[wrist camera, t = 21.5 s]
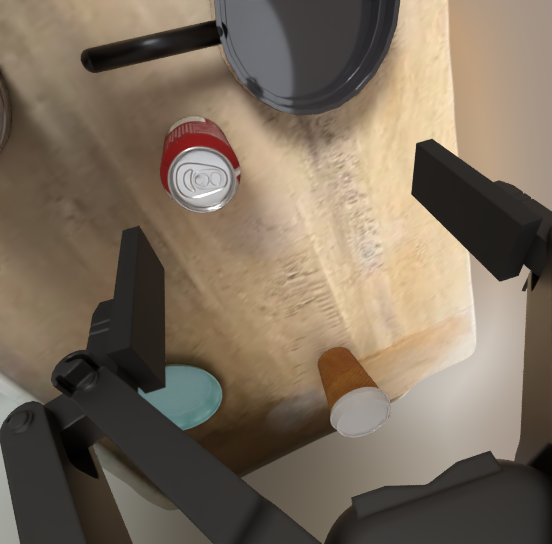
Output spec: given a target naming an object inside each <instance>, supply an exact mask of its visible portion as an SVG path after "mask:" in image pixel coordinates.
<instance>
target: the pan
mask: <svg viewBox="0 0 552 544" xmlns="http://www.w3.org/2000/svg"><path fill="white" fill-rule="evenodd" d="M210 2H211V12H212V21H213V20H215V21H216V26H220V27H221V28H222V30H223V27H222V22H223V23H224V24H225V25H226V27H227V30H228V36H227V39H226V37H225V34H224V31H223V35H222V37H220V41H221V44H220V45H218V46H219V50H220V53H221V55H222V58H223V59H224V61H225V63H226V64H227V66H228V68H229V70H230V71H231V73H232V75H233V76H234V78H235V79H236V80H237V81H238V82H239V83H240V84H241V85H242V86H243V87H244V88H245V89H246V90H247V91H248V92H249V93H250V94H251V95H252V96H254V97H255V98H257V99H259V100H260V101H262V102H264V103H266V104H267V105H269V106H271V107H272V108H274V109H276V110H278V111H282V112H286V113H290V114H294V115H312V114H321V113H324V112H326V111H329V110H332V109H335V108H338V107H340V106H341V105H343V104H344V103H346V102H347V101H349V100H350V99H351V98H353V97H354V96H356V95H357V94H358V93H359V92H360V91H361V90H362V89H363V88H364V87H365V86H366V85H367V83H368V82H369V81H370V80H371V79H372V78H373V77H374V75H375V74H376V72H377V70H378V69H379V67H380V65H381V63H382V62H383V60H384V58H385V56H386V55H387V53H388V50H389V47H390V44H391V41H392V38H393V35H394V32H395V29H396V27H397V21H398V14H399V6H400V0H210Z"/></svg>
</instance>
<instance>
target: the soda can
mask: <svg viewBox="0 0 552 544" xmlns="http://www.w3.org/2000/svg"><path fill="white" fill-rule="evenodd" d="M160 175H161V181H162V184H163V187H164V189H165V191H166V192H167V194H168V195H169V197H170V198H171V199H172V200H173V201H174V202H175V203H177V204H178V205H180V206H181V207H183V208H185V209H187V210H190V211H193V212H197V213H210V212H214V211H216V210H219V209H220V208H222V207H223V206H225V205H226V204H227V203H228V202H229V201H230V200H231V199H232V198H233V197H234V195H235V193H236V192H237V189H238V187H239V184H240V177H241V172H240V166H239V162H238V159H237V157H236V155H235V153H234V152H233V150H232V148H231V146H230V144H229V142H228V140H227V139H226V137H225V135H224V133H223V132H222V130H221V129H220V128H219V127H218V126H217V125H216V124H215V123H214V122H212V121H211V120H209V119H206V118H204V117H199V116H189V117H185V118H182V119H180V120H178V121H177V122H175V123H174V124H173V125H172V126H171V128H170V129H169V130H168V132H167V135H166V137H165V142H164V148H163V154H162V160H161V167H160Z"/></svg>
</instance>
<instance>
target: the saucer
mask: <svg viewBox="0 0 552 544" xmlns="http://www.w3.org/2000/svg"><path fill="white" fill-rule="evenodd" d="M165 372H166V388H163V389H160V390H156V391H153V392H150V393H147V394H145V393H144V392H143V391H142V390H141V389H140V388H139V387H138V394H140V395H141V396H142V397H143V398H144V399H146V400H147V401H148V402H149V403H150V404H152V405H153V406H154V407H155V408H156V409H158V410H159V411H160V412H161V413H162V414H164V415H165V416H166V417H167V418H169V419H170V420H171V421H172V422H173V423H175V424H176V425H177V426H178V427H179V428H181V429H182V430H186V429H189V428H192V427H195V426H197V425H199V424H201V423H203V422H204V421H206V420H207V419H209V418H210V417H211V416H212V415H213V414H214V413H215V412H216V411H217V409H218V408H219V406H220V404H221V401H222V389H221V386H220V384H219V382H218V381H217V379H216V378H215V377H214V376H212V375H211V374H210V373H208V372H207V371H205V370H203V369H201V368H199V367H196V366H192V365H187V364H170V365H165Z"/></svg>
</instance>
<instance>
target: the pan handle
mask: <svg viewBox="0 0 552 544" xmlns="http://www.w3.org/2000/svg"><path fill="white" fill-rule="evenodd" d="M222 27H223V30H222V28H221V27H220V26H216V21H215V20H213V21H209V22H204V23H200V24H195V25H191V26H186V27H182V28H177V29H173V30H169V31H164V32H160V33H155V34H151V35H146V36H142V37H138V38H133V39H129V40H124V41H120V42H115V43H111V44H106V45H102V46H98V47H93V48H89V49H86V50H84V51H83V52H82V54H81V63H82V65H83V66H84V68H85V69H86V70H88V71H89V72H92V73H99V72H103V71H108V70H112V69H116V68H120V67H125V66H129V65H133V64H138V63H142V62H146V61H151V60H155V59H159V58H164V57H168V56H172V55H177V54H181V53H185V52H189V51H194V50H198V49H202V48H207V47H211V46H215V45H220V44H221V41H220V37H222V35H223V31H224V34H225V37H226V39H227V36H228V30H227V27H226V25H225V24H224V23H223V22H222Z"/></svg>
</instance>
